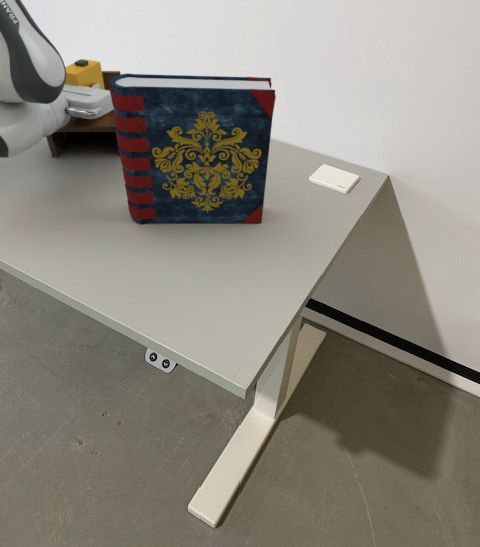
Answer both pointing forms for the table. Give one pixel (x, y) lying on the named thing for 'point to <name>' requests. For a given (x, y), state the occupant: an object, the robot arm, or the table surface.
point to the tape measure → (84, 73)
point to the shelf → (85, 122)
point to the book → (193, 146)
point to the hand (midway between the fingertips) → (85, 84)
